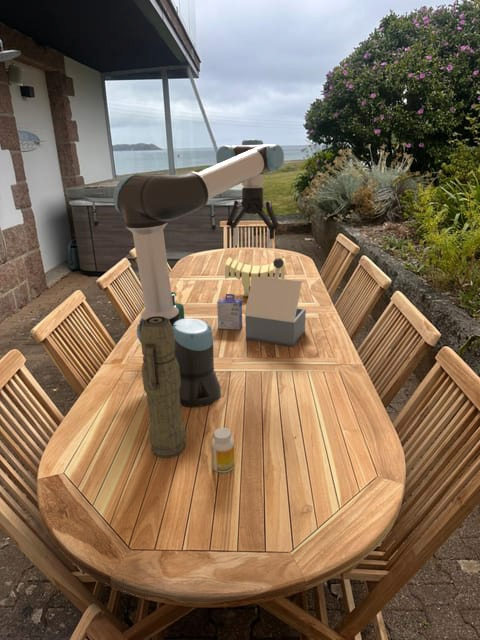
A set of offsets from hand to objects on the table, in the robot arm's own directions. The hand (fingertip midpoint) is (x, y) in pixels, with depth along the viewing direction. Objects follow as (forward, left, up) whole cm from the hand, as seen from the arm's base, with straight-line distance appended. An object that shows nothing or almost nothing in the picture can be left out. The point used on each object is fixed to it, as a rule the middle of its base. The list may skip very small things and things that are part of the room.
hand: (252, 246), depth 157 cm
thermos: (-72, -6, -37) cm, 81 cm away
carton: (+5, -8, -37) cm, 38 cm away
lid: (+4, -8, -17) cm, 19 cm away
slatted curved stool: (+53, +20, -37) cm, 68 cm away
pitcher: (-20, +26, -37) cm, 50 cm away
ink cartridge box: (+6, +13, -37) cm, 40 cm away
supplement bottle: (-73, -22, -37) cm, 85 cm away
